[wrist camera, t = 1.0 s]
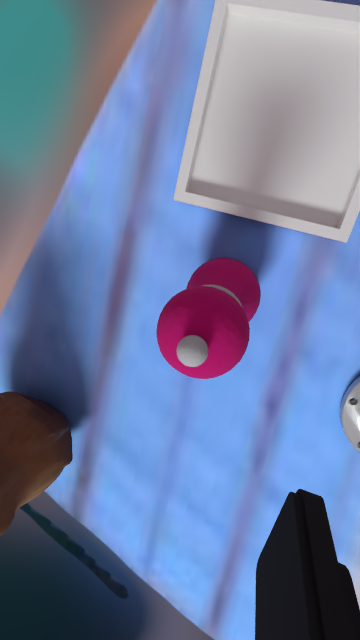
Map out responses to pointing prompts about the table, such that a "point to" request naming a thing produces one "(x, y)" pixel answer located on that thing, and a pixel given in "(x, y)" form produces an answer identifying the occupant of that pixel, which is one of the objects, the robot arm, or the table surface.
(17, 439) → the butternut squash
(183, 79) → the table surface
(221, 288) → the pepper mill
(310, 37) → the tray
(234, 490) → the table surface
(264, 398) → the table surface
